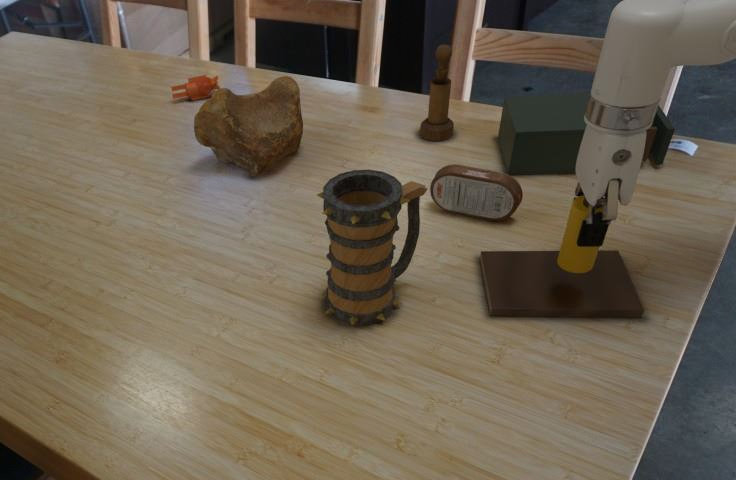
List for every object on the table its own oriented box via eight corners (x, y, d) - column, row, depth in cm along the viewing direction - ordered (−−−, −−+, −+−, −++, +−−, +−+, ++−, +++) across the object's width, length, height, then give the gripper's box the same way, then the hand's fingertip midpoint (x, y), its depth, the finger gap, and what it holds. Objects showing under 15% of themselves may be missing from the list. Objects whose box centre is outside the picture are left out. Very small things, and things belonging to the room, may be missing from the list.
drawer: (648, 129, 128) (659, 94, 124) (670, 164, 119) (683, 128, 114) (565, 132, 131) (573, 99, 127) (580, 167, 122) (589, 132, 117)
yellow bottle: (589, 253, 99) (609, 187, 91) (596, 273, 95) (618, 207, 88) (554, 253, 100) (571, 188, 92) (560, 273, 96) (578, 207, 89)
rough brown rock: (222, 199, 132) (218, 130, 121) (191, 158, 143) (184, 92, 132) (326, 167, 138) (330, 98, 127) (289, 131, 148) (290, 64, 137)
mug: (302, 296, 106) (296, 185, 93) (391, 258, 111) (398, 146, 97) (348, 342, 97) (349, 227, 84) (443, 299, 102) (459, 183, 88)
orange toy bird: (170, 82, 162) (219, 72, 162) (168, 81, 168) (215, 72, 169) (175, 104, 164) (222, 94, 164) (172, 102, 170) (218, 92, 171)
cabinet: (576, 135, 132) (586, 92, 126) (593, 172, 121) (605, 128, 116) (497, 138, 135) (504, 96, 129) (507, 175, 124) (515, 131, 119)
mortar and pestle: (431, 124, 142) (439, 36, 130) (458, 131, 139) (469, 42, 126) (413, 136, 139) (419, 48, 127) (440, 144, 136) (450, 54, 123)
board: (615, 258, 104) (618, 250, 103) (641, 318, 94) (644, 309, 93) (479, 258, 108) (480, 251, 107) (490, 316, 98) (491, 308, 97)
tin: (518, 218, 114) (527, 174, 109) (513, 227, 113) (522, 183, 107) (432, 201, 121) (436, 158, 116) (426, 209, 120) (430, 167, 114)
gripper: (677, 141, 75) (630, 270, 87) (635, 78, 87) (598, 200, 99) (604, 143, 76) (567, 270, 89) (572, 82, 88) (544, 201, 101)
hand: (584, 232), depth 94 cm, fingers closed on yellow bottle, 4 cm apart
